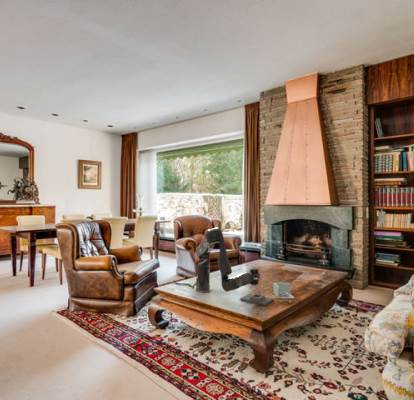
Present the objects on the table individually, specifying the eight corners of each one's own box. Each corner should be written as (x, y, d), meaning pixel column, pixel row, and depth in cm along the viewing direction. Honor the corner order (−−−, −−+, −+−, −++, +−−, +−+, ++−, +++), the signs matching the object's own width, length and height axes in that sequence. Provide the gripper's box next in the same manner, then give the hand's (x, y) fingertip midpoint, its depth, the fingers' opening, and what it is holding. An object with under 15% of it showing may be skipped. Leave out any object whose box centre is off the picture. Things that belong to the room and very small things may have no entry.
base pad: (240, 300, 213) (240, 295, 213) (250, 295, 224) (250, 290, 224) (264, 306, 202) (264, 301, 202) (273, 300, 213) (273, 295, 213)
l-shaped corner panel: (278, 298, 218) (278, 287, 218) (273, 292, 230) (273, 282, 230) (295, 298, 218) (295, 287, 218) (289, 292, 230) (289, 282, 230)
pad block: (250, 284, 211) (250, 269, 211) (253, 282, 214) (253, 268, 214) (254, 285, 208) (255, 270, 208) (258, 283, 212) (258, 269, 212)
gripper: (253, 275, 196) (265, 270, 209) (234, 271, 205) (247, 267, 218) (253, 287, 196) (265, 281, 209) (234, 283, 205) (247, 278, 218)
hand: (256, 274), depth 214 cm, fingers closed on pad block, 3 cm apart
